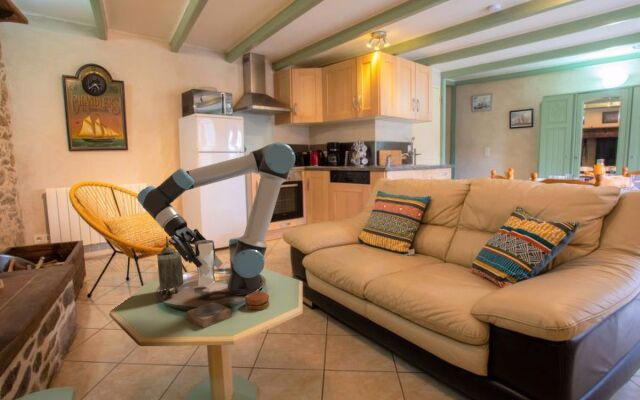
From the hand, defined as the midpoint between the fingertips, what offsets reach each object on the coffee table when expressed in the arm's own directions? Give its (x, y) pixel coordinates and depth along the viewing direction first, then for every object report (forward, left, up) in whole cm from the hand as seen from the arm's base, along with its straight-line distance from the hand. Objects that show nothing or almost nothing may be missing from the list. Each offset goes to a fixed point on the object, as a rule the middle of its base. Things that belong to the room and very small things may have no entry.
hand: (214, 269), depth 126 cm
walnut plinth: (+1, -3, -18) cm, 19 cm away
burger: (-16, +2, -19) cm, 25 cm away
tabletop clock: (-2, -38, -19) cm, 42 cm away
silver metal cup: (+2, -3, -6) cm, 7 cm away
